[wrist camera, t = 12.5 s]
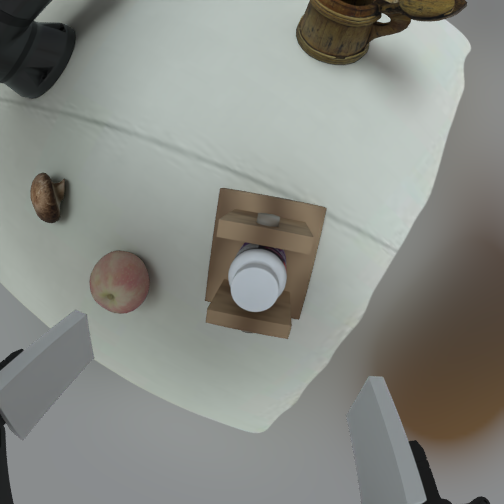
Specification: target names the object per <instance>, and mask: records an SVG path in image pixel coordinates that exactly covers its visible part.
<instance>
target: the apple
mask: <svg viewBox="0 0 504 504" xmlns="http://www.w3.org/2000/svg"><path fill="white" fill-rule="evenodd" d="M90 290H91V294H92V296H93V298H94V300H95V301H96V302H97V303H98V304H99V305H101V306H102V307H103V308H105V309H107V310H109V311H111V312H114V313H120V314H122V313H128V312H131V311H133V310H135V309H136V308H138V307H139V306H140V305H141V304H142V303H143V301H144V300H145V298H146V296H147V294H148V291H149V275H148V272H147V269H146V267H145V265H144V263H143V261H142V260H141V259H140V258H139V257H137V256H136V255H134V254H132V253H129V252H125V251H113V252H110V253H108V254H107V255H105V256H104V257H102V258H101V259H100V260H99V261H98V263H97V264H96V265H95V267H94V269H93V271H92V273H91V276H90Z"/></svg>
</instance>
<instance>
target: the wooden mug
mask: <svg viewBox="0 0 504 504" xmlns="http://www.w3.org/2000/svg"><path fill="white" fill-rule="evenodd" d="M466 6H467V2H466V1H465V0H310V2H309V4H308V6H307V9H306V11H305V14H304V15H303V16H302V18H301V19H300V22H299V24H298V26H297V29H296V37H297V40H298V43H299V44H300V46H301V47H302V49H303V50H304V51H305V52H306V53H307V54H308V55H309V56H311V57H313V58H315V59H317V60H319V61H323V62H326V63H330V64H341V65H346V64H350V63H354V62H356V61H357V60H359V59H360V58H362V57H363V56H364V55H365V54H366V53H367V51H368V48H369V42H371V41H372V40H373V39H375V38H378V37H381V36H386V35H391V34H395V33H399V32H401V31H403V30H404V29H406V28H407V27H408V25H409V24H410V22H411V19H413V20H417V21H439V20H443V19H446V18H449V17H452V16H454V15H456V14H458V13H459V12H460V11H462V10H463V9H464V8H465V7H466ZM381 13H384V14H385V15H387V16H388V17H390V19H391V21H390V22H387V23H381V22H377V20H379V19H380V18H381Z"/></svg>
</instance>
